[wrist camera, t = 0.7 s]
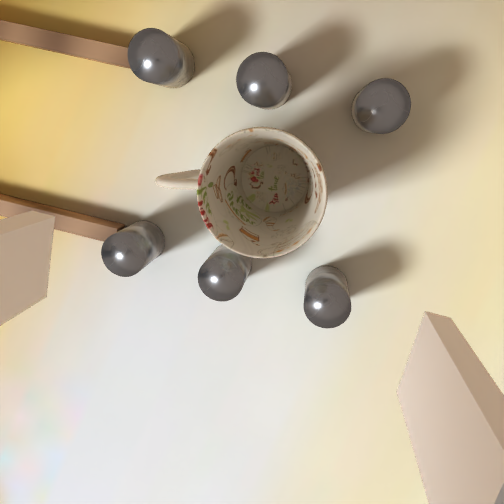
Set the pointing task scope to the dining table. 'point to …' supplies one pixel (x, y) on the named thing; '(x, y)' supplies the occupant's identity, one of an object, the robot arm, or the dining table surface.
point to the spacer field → (267, 97)
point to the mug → (258, 192)
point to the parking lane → (82, 49)
